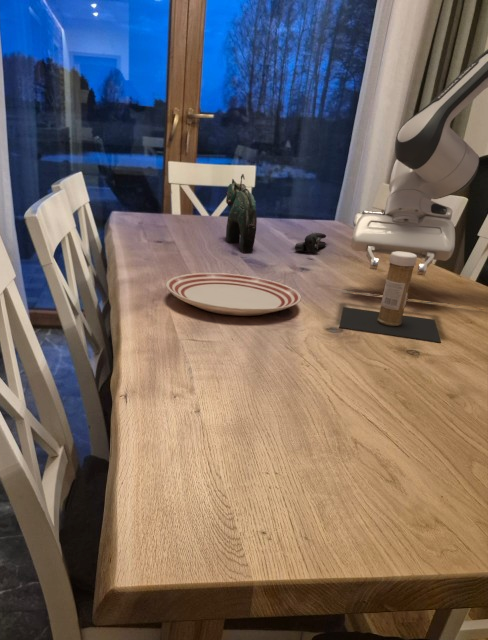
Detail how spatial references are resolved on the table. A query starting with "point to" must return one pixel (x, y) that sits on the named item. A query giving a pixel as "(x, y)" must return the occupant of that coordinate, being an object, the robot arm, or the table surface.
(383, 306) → the sprinkles bottle
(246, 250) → the green horse figurine
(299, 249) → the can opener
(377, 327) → the rubber mat
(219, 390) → the table surface
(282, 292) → the dinner plate
